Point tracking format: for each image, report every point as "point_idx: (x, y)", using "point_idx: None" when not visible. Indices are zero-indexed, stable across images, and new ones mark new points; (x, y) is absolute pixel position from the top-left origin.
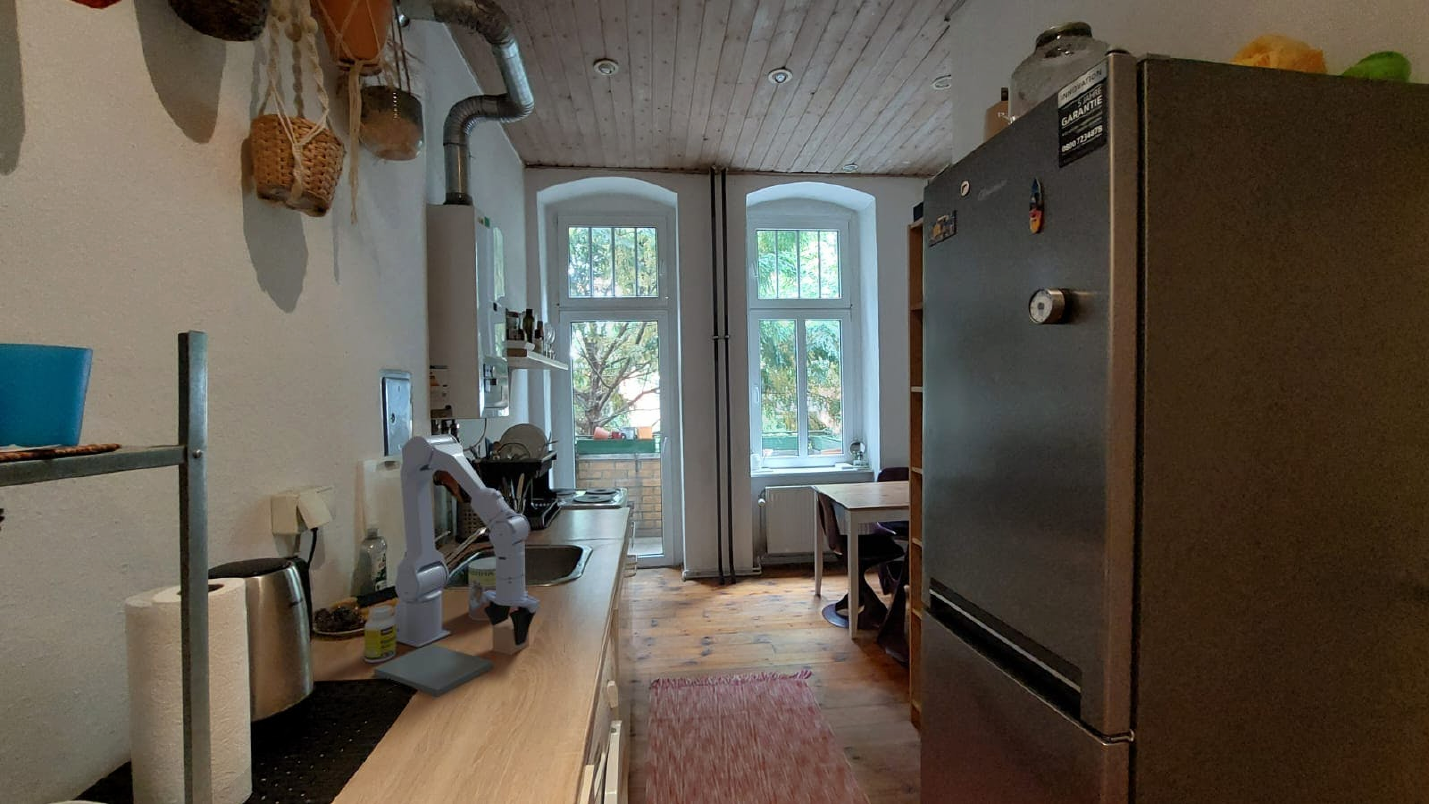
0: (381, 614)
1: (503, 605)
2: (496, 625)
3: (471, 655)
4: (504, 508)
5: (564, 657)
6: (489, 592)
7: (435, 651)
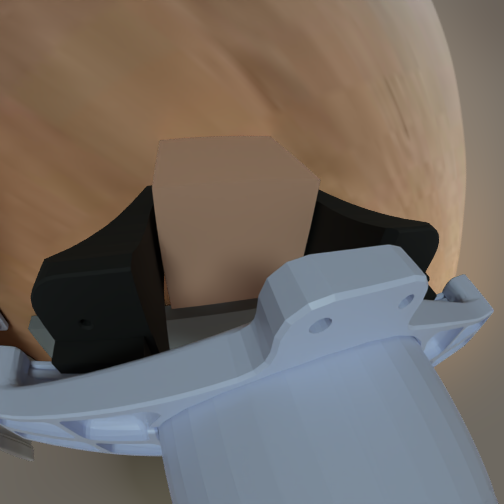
0: (33, 455)
1: (153, 331)
2: (184, 298)
3: (188, 319)
4: None
5: (417, 165)
6: (36, 434)
7: None
